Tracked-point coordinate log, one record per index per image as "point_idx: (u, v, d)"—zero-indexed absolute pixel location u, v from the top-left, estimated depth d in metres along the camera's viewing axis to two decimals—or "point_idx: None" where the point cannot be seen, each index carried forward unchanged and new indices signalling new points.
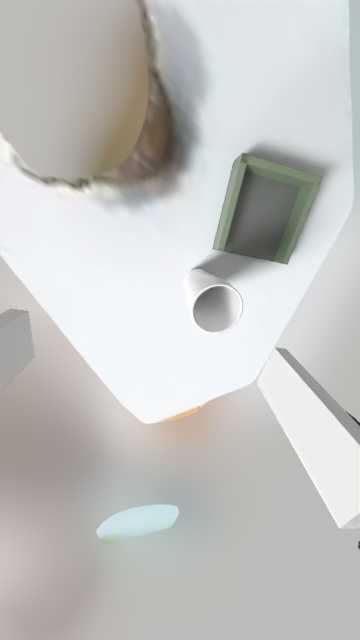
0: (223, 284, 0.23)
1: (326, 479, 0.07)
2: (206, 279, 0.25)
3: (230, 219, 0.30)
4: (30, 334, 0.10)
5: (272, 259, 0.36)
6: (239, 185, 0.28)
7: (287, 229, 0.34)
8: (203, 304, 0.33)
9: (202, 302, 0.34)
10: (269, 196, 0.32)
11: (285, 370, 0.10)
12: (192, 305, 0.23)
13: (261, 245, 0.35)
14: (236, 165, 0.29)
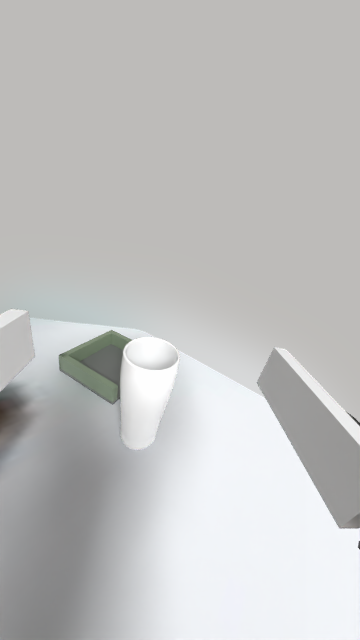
0: (129, 342, 0.23)
1: (326, 479, 0.07)
2: None
3: (95, 373, 0.33)
4: (30, 334, 0.10)
5: None
6: (76, 362, 0.34)
7: None
8: None
9: None
10: (102, 357, 0.41)
11: (285, 370, 0.10)
12: (134, 365, 0.20)
13: None
14: (63, 364, 0.35)
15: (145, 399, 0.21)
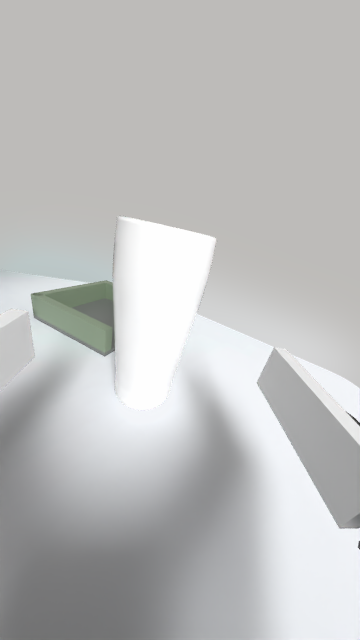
0: None
1: (326, 479, 0.07)
2: None
3: (80, 313, 0.23)
4: (30, 334, 0.10)
5: None
6: (55, 301, 0.25)
7: None
8: None
9: None
10: (93, 308, 0.32)
11: (285, 370, 0.10)
12: (138, 221, 0.10)
13: None
14: (37, 306, 0.26)
15: (158, 299, 0.12)
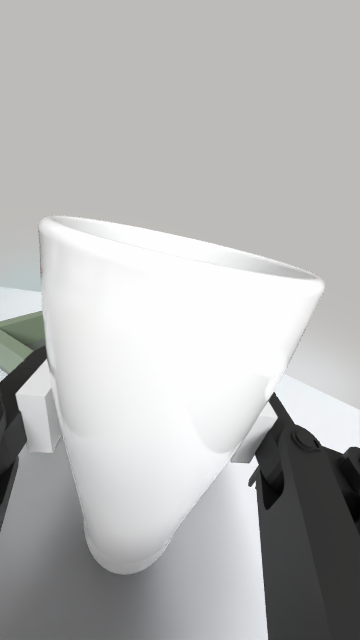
0: None
1: None
2: None
3: None
4: None
5: None
6: (11, 339, 0.17)
7: None
8: None
9: None
10: None
11: None
12: (85, 238, 0.03)
13: None
14: None
15: (162, 464, 0.04)
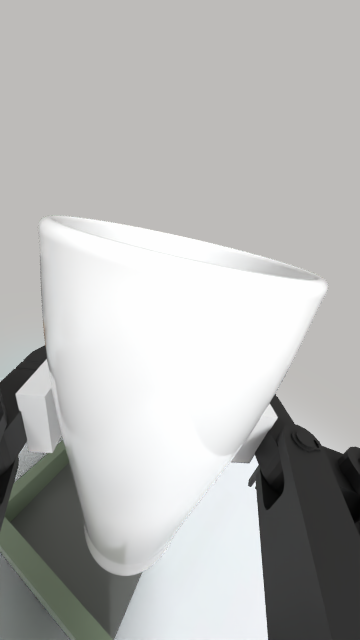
0: None
1: None
2: None
3: (56, 584, 0.13)
4: None
5: None
6: (16, 537, 0.15)
7: None
8: None
9: None
10: None
11: None
12: (86, 238, 0.03)
13: None
14: None
15: (163, 466, 0.04)
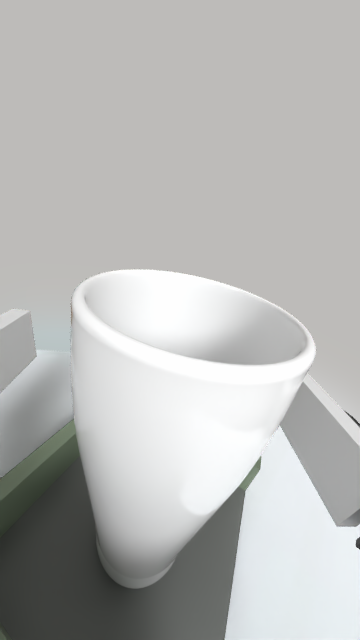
0: None
1: (324, 478, 0.07)
2: None
3: None
4: (32, 334, 0.10)
5: (241, 492, 0.15)
6: None
7: None
8: None
9: None
10: None
11: None
12: (117, 338, 0.03)
13: None
14: None
15: (175, 505, 0.04)
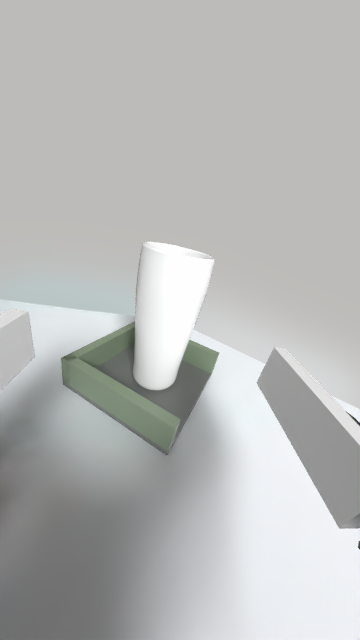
0: None
1: (326, 479, 0.07)
2: None
3: (132, 392, 0.17)
4: (30, 334, 0.10)
5: (208, 374, 0.26)
6: (94, 370, 0.19)
7: None
8: None
9: None
10: (131, 360, 0.25)
11: (285, 370, 0.10)
12: (159, 250, 0.15)
13: (186, 380, 0.24)
14: (69, 374, 0.19)
15: (171, 304, 0.16)
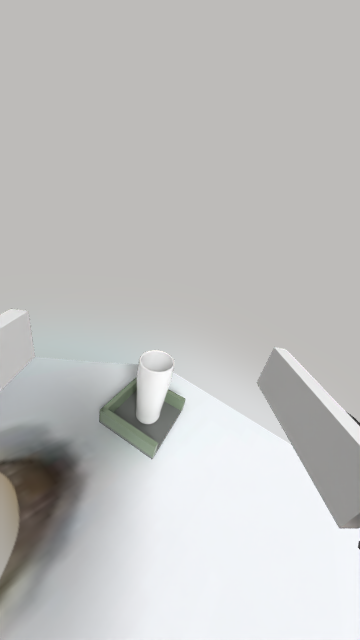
0: (143, 353, 0.37)
1: (326, 479, 0.07)
2: None
3: (135, 429, 0.36)
4: (30, 334, 0.10)
5: (179, 411, 0.45)
6: (117, 416, 0.37)
7: None
8: None
9: None
10: (134, 403, 0.44)
11: (285, 370, 0.10)
12: (146, 369, 0.33)
13: (166, 416, 0.43)
14: (103, 417, 0.38)
15: (153, 389, 0.35)
